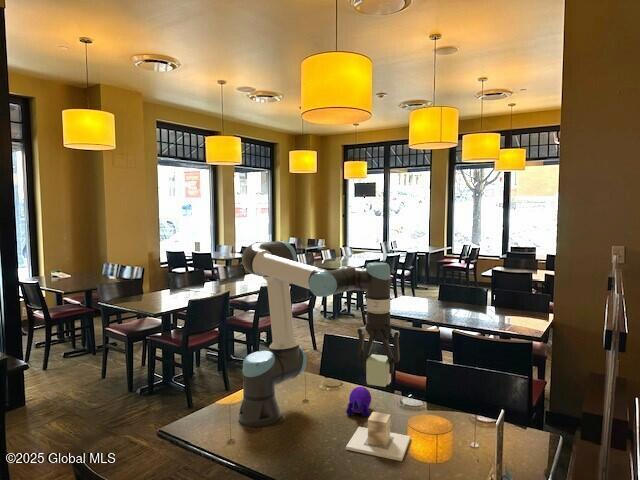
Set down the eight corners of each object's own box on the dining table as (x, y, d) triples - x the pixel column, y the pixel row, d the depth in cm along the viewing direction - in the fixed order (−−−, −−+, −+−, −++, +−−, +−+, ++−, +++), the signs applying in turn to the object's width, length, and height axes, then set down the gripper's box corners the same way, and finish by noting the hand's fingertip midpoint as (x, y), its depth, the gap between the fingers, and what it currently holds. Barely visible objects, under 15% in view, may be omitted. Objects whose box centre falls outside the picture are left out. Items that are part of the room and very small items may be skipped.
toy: (367, 425, 159) (373, 403, 174) (367, 401, 158) (372, 380, 172) (344, 423, 162) (351, 401, 176) (343, 398, 160) (351, 379, 174)
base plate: (346, 449, 142) (346, 445, 141) (358, 429, 154) (358, 425, 154) (401, 461, 135) (401, 457, 135) (410, 439, 148) (410, 435, 148)
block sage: (367, 384, 141) (366, 359, 141) (372, 377, 147) (372, 354, 146) (385, 386, 139) (385, 362, 138) (389, 380, 144) (389, 356, 144)
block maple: (367, 443, 143) (367, 419, 142) (372, 434, 148) (372, 411, 148) (385, 447, 140) (386, 422, 140) (390, 438, 146) (390, 414, 145)
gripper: (346, 311, 142) (347, 381, 143) (405, 316, 134) (405, 390, 136) (353, 306, 149) (354, 373, 150) (410, 310, 141) (410, 381, 143)
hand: (378, 381), depth 143 cm, fingers closed on block sage, 6 cm apart
